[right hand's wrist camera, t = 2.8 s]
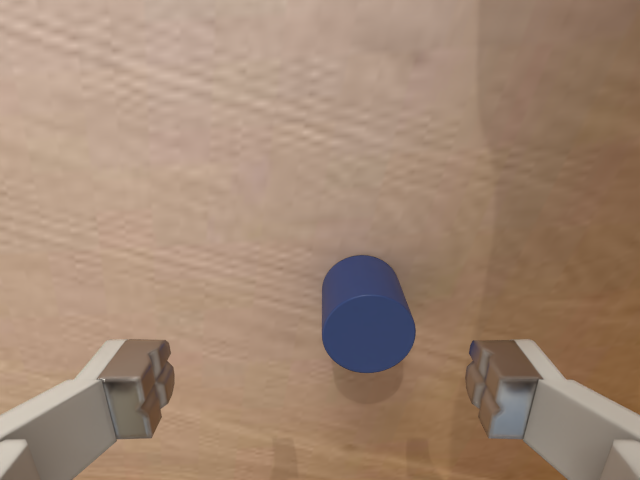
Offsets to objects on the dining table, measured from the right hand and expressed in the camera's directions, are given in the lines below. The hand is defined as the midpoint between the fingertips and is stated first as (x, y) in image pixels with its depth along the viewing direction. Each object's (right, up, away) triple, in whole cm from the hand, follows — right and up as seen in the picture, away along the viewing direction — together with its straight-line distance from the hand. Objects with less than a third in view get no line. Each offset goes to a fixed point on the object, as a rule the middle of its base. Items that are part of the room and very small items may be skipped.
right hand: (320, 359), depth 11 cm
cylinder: (+2, 0, +12) cm, 13 cm away
